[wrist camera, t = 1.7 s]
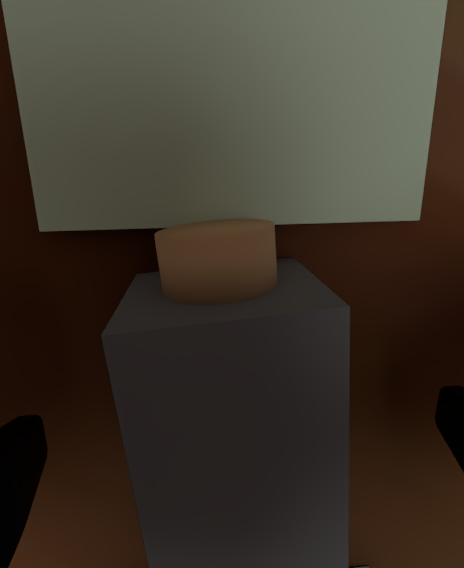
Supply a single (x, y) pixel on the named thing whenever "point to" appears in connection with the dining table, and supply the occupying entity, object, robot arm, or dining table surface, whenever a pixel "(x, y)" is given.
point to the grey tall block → (234, 402)
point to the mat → (224, 109)
